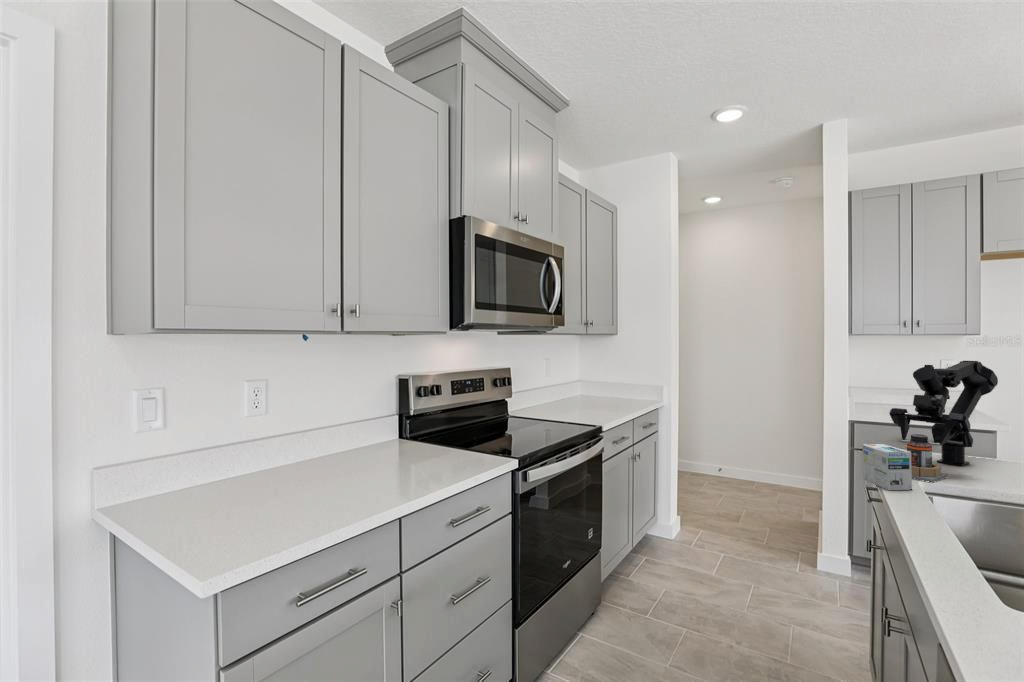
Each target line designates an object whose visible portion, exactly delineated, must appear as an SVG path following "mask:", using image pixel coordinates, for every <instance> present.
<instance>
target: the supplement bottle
mask: <svg viewBox="0 0 1024 682" xmlns="http://www.w3.org/2000/svg"><path fill="white" fill-rule="evenodd" d="M928 437H929V436H928V435H925V434H921V433H920V434H918V433H913V434H910V440H908V441H907V442H906V451H909V452H911V466H915V467H921V468H932V463H933V445H932V444H931V443H930V442H929V439H928Z"/></svg>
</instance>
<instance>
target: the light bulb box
mask: <svg viewBox="0 0 1024 682" xmlns="http://www.w3.org/2000/svg"><path fill="white" fill-rule="evenodd" d="M862 464H863V467H862V470H863V474H862V475H863V479H862V480H863V481H866V482H868V483H871V484H872V485H876V486H878V487H880V488H882V489H884V490H887V491H911V490H910V489H912V490H913V482H912V481H913V479H912V470H911V452H909V451H907V449H905V450H904V449H902V448H899V447H894V446H891V445H889V444H888V445H887V444H885V443H871V444H870V443H862Z"/></svg>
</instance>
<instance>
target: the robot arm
mask: <svg viewBox="0 0 1024 682" xmlns="http://www.w3.org/2000/svg"><path fill="white" fill-rule="evenodd" d="M912 377H913V378H914V381H915V383H916V384H917V386H918V387H919V389H920V390H921V391H923V392H924V393H923V394H915V395H913V401H912V406H914V407H915V409H914V411H915V412H916V413H909V412H908V409H906V408H901V407H900V408H899V407H892V408H890V410H889V412H888V413H889V416H890V418H891V421H892V423H893V424H894V425H895V426H896V425H897V426H898V427H899V428H900V434H901V439H902V440H903V441H905V440H906V438H907V436H908V432H909V430H910V424H911V421H913V422H914V421H915V422H923V423H928V424H933V425H932V426H931V435H932V441H933V443H935V444H939V445H940V446H941V451H940V452H941V459H938V460H936V462H937V463H941V464H946V465H951V466H952V465H953V466H958V467H964V466H966V465H969V464H971V462H970V461H966V455H965V454H966V453H965V452H966V449H965V448H972V447H973V444H974V439H973V437H972V435H971V433H970V430H971V422H970V420H969V418H971V416H972V414H973V412H974V410H975V408H976V406H977V405H978V403H979V401H980V399H981V398H982V397H983V396H984V395H988V394H990V393H992V391H993V390H994V389H995V388H996V387H997V386H998V384H999V379H998V376H997V375H996V373H995V372H994V370H992V368H991V369H990V368H989V367H987V366H985V365H983V363H982V362H981V361H978V360H962V361H959V362H958V363H956V364H953V365H951V366H948V367H946V368H935V367H934V365H933V364H924V366H923V367H920V368H918V369H916V370H914V371H913V373H912ZM961 383H962V385H963V387H964V388H963V389H962V392H961V393H960V394H959V396H958V398H957V399H956V401H955V403H954V405H953V406H952V408H951V410H949V411H950V412H949V413H948V414H945V413H946V409H945V408H946V405H947V400H951V398H950V397H951V396H950V390H949V389H948V388H951V389H952V388H953V389H954V388H957V387H958V386H959V385H960V384H961Z"/></svg>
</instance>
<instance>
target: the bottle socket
mask: <svg viewBox="0 0 1024 682" xmlns="http://www.w3.org/2000/svg"><path fill="white" fill-rule="evenodd" d="M911 470H912V478H915V479H918V480H917V481H920V480H924V481H923V482H925V481H929V482H928V483H930V482H933V483H935V482H934V481H936V482H939V481H942V480H944V479H943V478H945V477H948V478H949V474H948V473H944V472H942V467H941V466H940V465H939V464H936V463H933V462H932V468H921V467H915V466H911ZM915 479H914V480H915ZM941 479H942V480H941ZM945 479H946V478H945ZM938 480H939V481H938Z"/></svg>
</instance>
